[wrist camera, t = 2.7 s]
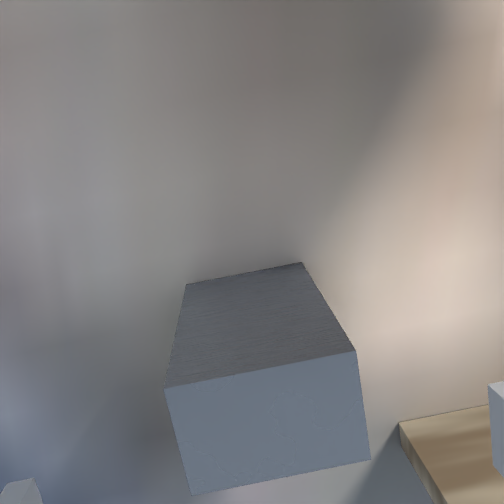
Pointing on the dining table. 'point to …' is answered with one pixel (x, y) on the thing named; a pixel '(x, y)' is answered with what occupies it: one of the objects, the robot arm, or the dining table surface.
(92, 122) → the dining table surface
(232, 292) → the angle block
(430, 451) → the wooden corner frame
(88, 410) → the dining table surface
